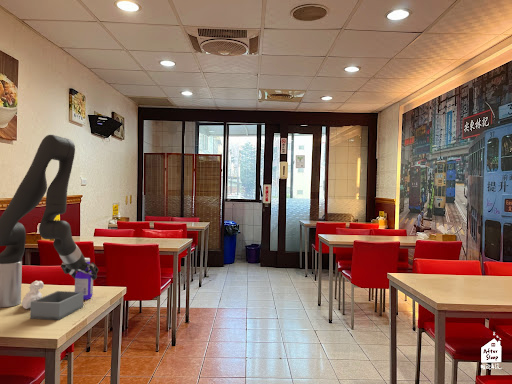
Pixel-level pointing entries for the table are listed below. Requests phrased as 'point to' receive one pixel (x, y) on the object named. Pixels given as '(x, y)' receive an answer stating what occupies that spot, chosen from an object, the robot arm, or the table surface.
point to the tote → (56, 305)
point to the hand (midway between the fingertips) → (85, 277)
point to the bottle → (84, 283)
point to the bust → (32, 294)
